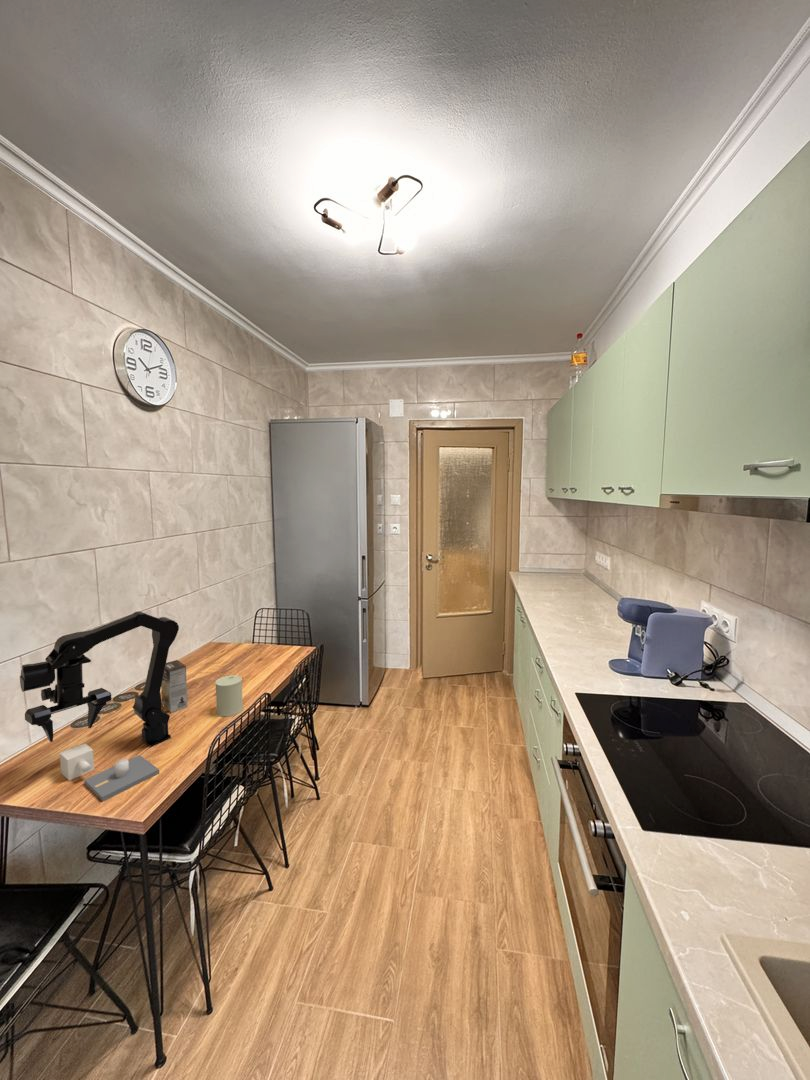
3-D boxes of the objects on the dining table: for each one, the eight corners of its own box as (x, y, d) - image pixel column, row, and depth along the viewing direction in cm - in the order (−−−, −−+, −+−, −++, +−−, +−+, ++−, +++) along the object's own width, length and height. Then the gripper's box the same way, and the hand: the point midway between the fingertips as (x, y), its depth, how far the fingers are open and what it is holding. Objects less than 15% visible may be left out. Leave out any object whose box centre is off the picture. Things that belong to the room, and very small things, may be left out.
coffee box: (161, 705, 163) (159, 664, 161) (179, 699, 167) (177, 659, 166) (170, 713, 157) (168, 670, 155) (188, 706, 161) (186, 665, 160)
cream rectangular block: (86, 762, 127) (84, 743, 127) (99, 774, 122) (97, 754, 121) (61, 772, 122) (59, 752, 122) (73, 785, 117) (72, 764, 116)
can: (246, 704, 163) (245, 673, 162) (238, 716, 154) (237, 684, 153) (222, 704, 163) (220, 674, 162) (212, 716, 154) (210, 684, 153)
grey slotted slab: (139, 758, 129) (138, 743, 129) (159, 773, 122) (158, 757, 122) (84, 783, 118) (83, 767, 117) (102, 801, 111) (101, 784, 110)
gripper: (94, 665, 133) (95, 714, 134) (16, 684, 117) (17, 740, 118) (111, 673, 127) (112, 724, 128) (32, 694, 111) (33, 753, 112)
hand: (71, 734), depth 122 cm, fingers open, 9 cm apart
